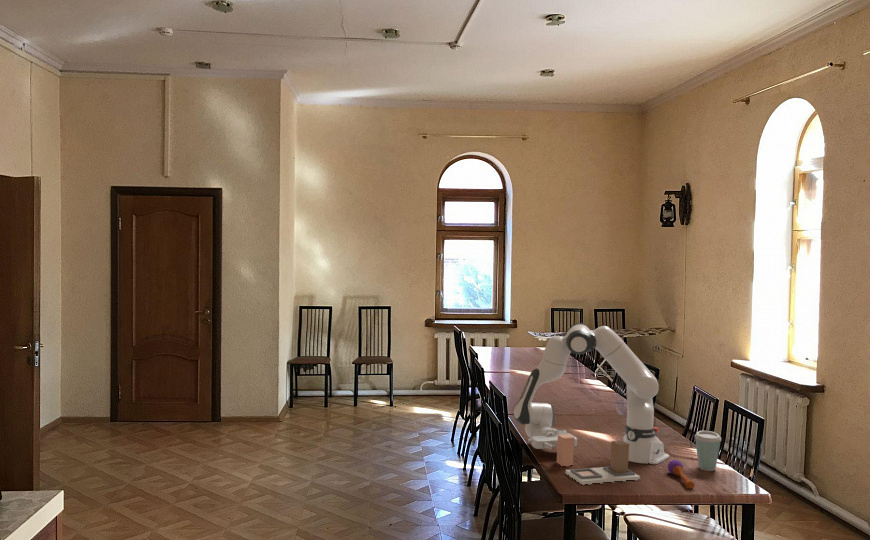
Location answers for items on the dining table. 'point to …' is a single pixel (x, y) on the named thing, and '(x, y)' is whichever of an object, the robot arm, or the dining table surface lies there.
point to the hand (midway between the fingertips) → (562, 447)
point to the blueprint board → (607, 468)
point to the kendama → (679, 472)
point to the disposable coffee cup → (707, 449)
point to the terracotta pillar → (565, 450)
